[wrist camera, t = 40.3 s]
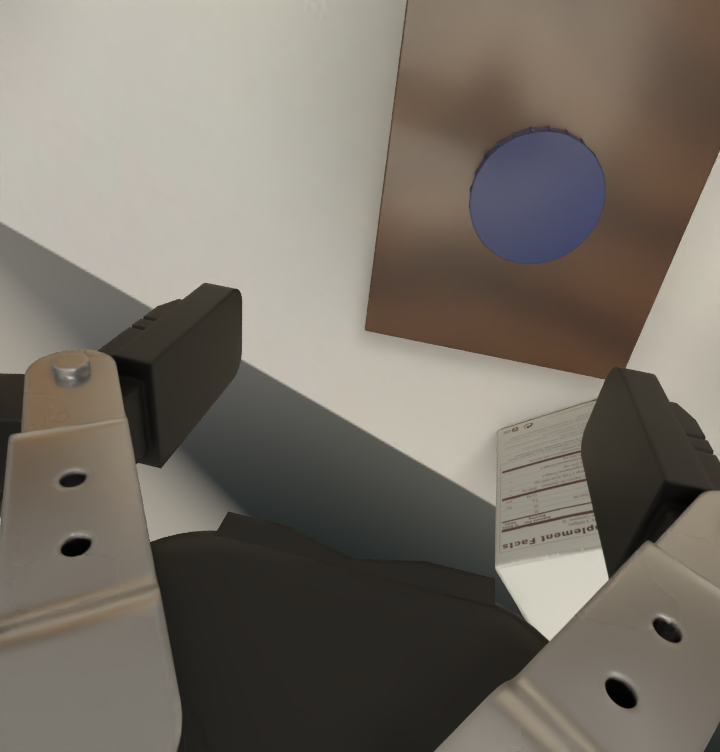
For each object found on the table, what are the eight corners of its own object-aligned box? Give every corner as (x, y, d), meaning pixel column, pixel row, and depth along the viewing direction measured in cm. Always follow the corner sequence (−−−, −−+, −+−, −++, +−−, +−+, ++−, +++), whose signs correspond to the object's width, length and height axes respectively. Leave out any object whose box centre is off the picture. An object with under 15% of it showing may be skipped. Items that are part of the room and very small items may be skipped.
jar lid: (548, 275, 31) (550, 287, 29) (447, 217, 30) (444, 226, 29) (629, 167, 27) (637, 174, 25) (516, 99, 27) (517, 102, 25)
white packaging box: (636, 477, 38) (689, 643, 27) (532, 502, 41) (543, 659, 30) (602, 394, 35) (645, 541, 24) (493, 427, 38) (490, 570, 28)
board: (615, 370, 34) (619, 382, 33) (369, 321, 36) (364, 331, 35) (780, -19, 24) (795, -23, 22) (418, -56, 26) (414, -62, 24)
